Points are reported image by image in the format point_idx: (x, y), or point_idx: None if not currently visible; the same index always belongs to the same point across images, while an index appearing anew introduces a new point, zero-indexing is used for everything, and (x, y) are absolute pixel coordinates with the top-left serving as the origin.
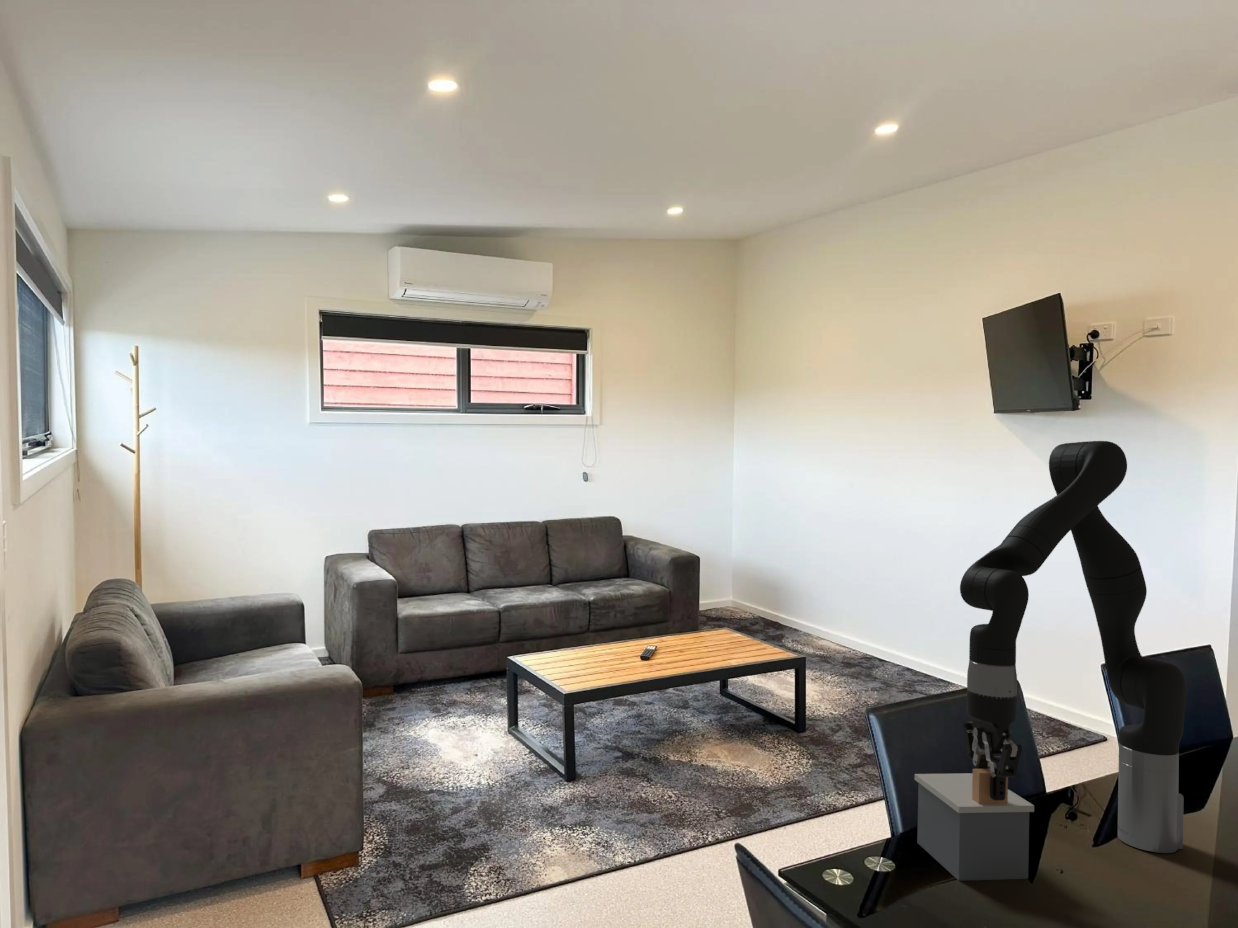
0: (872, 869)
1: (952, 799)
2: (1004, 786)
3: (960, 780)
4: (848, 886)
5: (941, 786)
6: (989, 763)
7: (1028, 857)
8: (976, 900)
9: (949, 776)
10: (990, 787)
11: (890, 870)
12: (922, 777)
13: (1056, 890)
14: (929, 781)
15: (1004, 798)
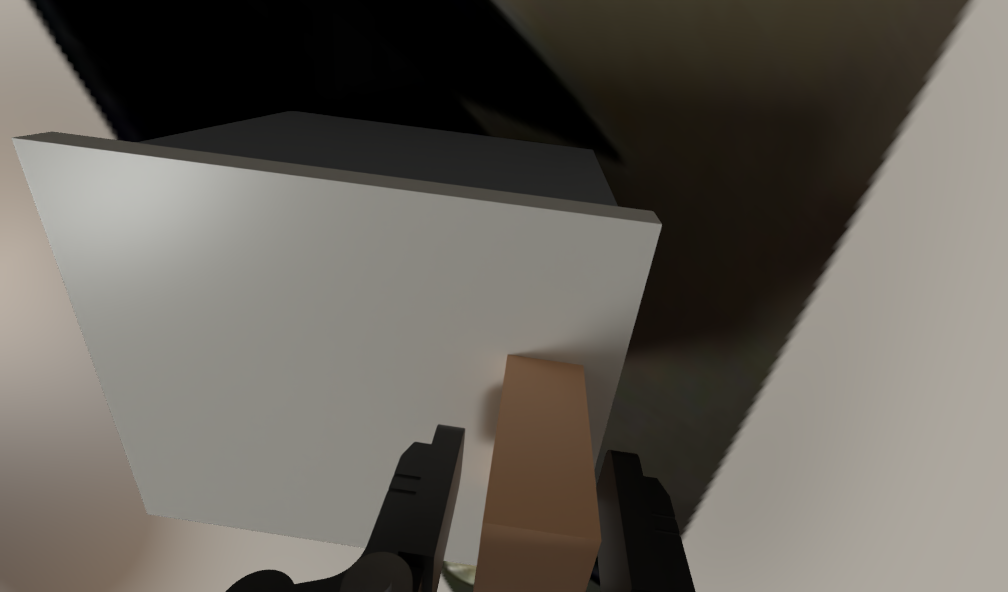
0: None
1: (477, 553)
2: (682, 557)
3: (207, 375)
4: None
5: (313, 506)
6: (412, 590)
7: (598, 164)
8: (659, 388)
9: (148, 391)
10: (602, 565)
11: None
12: (192, 509)
13: (695, 109)
14: (247, 513)
15: (637, 457)
